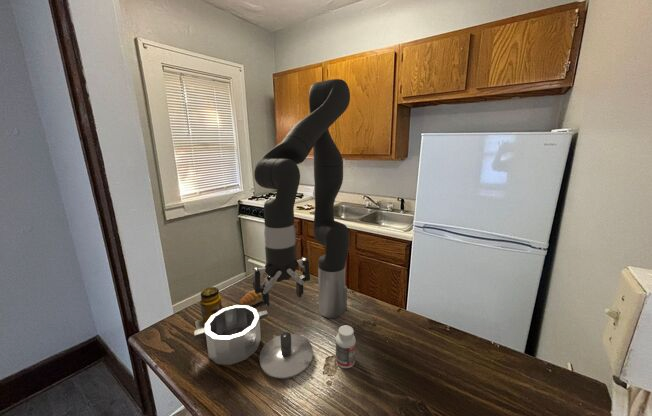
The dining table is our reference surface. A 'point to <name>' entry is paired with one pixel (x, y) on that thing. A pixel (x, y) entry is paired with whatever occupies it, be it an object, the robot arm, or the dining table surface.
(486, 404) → the dining table surface
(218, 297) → the condiment
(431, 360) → the dining table surface
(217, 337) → the pot
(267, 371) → the lid
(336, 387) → the dining table surface
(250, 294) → the pastry
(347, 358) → the pill bottle
